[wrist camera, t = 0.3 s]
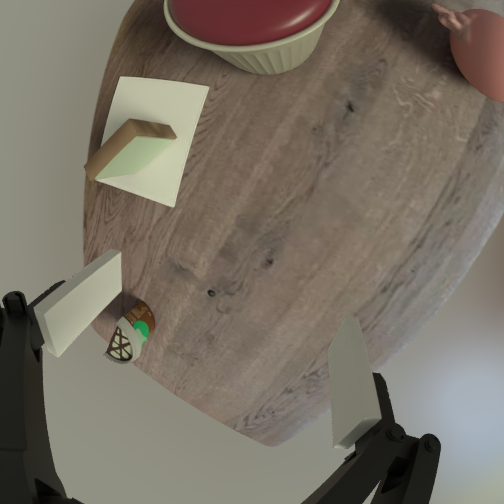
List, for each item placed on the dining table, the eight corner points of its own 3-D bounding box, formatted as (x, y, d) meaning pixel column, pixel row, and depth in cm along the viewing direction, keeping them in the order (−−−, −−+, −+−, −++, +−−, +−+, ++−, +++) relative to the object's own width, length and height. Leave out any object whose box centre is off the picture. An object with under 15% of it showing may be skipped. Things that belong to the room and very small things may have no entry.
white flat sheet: (122, 77, 36) (120, 76, 36) (209, 87, 35) (208, 86, 34) (96, 179, 44) (94, 179, 43) (174, 206, 42) (172, 207, 42)
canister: (193, 71, 34) (110, 21, 15) (243, -10, 28) (201, -86, 8) (299, 112, 34) (291, 60, 15) (348, 24, 27) (370, -60, 8)
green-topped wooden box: (178, 138, 38) (138, 134, 28) (134, 174, 41) (91, 182, 31) (169, 125, 37) (129, 118, 27) (127, 162, 41) (83, 166, 31)
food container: (148, 347, 55) (126, 375, 45) (127, 330, 54) (102, 356, 45) (169, 315, 50) (144, 344, 41) (145, 295, 50) (116, 321, 40)
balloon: (417, 0, 22) (447, -42, 7) (503, 63, 21) (550, 47, 6) (402, 57, 27) (442, 17, 13) (495, 124, 26) (552, 121, 12)
